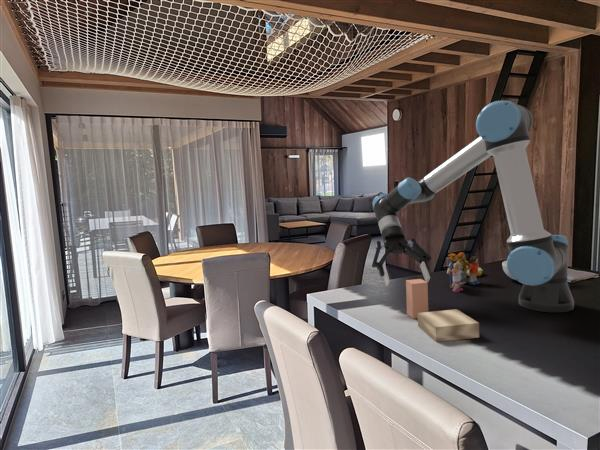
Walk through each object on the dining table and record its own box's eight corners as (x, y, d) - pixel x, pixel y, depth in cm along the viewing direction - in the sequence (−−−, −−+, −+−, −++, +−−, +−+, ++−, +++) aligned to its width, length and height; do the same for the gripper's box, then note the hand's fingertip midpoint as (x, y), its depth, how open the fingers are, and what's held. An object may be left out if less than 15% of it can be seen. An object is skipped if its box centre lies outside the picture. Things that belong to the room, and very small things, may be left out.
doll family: (456, 293, 148) (456, 258, 146) (433, 289, 155) (432, 256, 153) (482, 281, 162) (481, 249, 160) (459, 278, 169) (458, 247, 167)
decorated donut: (473, 279, 167) (472, 270, 167) (450, 275, 176) (450, 266, 176) (487, 274, 173) (487, 266, 173) (464, 271, 182) (464, 262, 182)
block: (421, 312, 130) (420, 278, 129) (428, 317, 125) (427, 282, 124) (406, 313, 129) (405, 280, 128) (413, 318, 124) (411, 283, 123)
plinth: (456, 322, 119) (456, 309, 119) (479, 337, 107) (479, 322, 107) (417, 326, 118) (417, 312, 117) (436, 341, 106) (435, 327, 106)
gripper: (422, 234, 149) (441, 284, 135) (355, 239, 146) (368, 290, 133) (427, 222, 143) (448, 272, 129) (358, 226, 140) (372, 278, 127)
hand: (408, 282), depth 131 cm, fingers open, 13 cm apart
